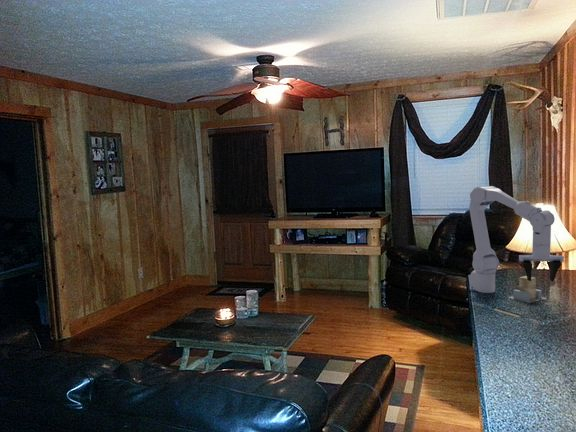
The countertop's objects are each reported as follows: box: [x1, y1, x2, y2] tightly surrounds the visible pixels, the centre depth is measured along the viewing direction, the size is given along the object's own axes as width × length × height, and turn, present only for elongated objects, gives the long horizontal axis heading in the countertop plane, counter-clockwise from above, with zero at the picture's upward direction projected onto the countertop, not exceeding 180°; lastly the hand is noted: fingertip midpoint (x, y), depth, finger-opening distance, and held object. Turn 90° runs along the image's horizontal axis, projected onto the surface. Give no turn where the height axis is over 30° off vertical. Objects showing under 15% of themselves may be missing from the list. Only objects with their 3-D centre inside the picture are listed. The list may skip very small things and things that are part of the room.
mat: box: [493, 308, 526, 319], centre depth 163 cm, size 10×14×1 cm
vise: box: [507, 288, 548, 304], centre depth 175 cm, size 9×11×4 cm
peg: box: [518, 275, 537, 299], centre depth 175 cm, size 4×4×8 cm
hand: (540, 280), depth 167 cm, fingers open, 7 cm apart
